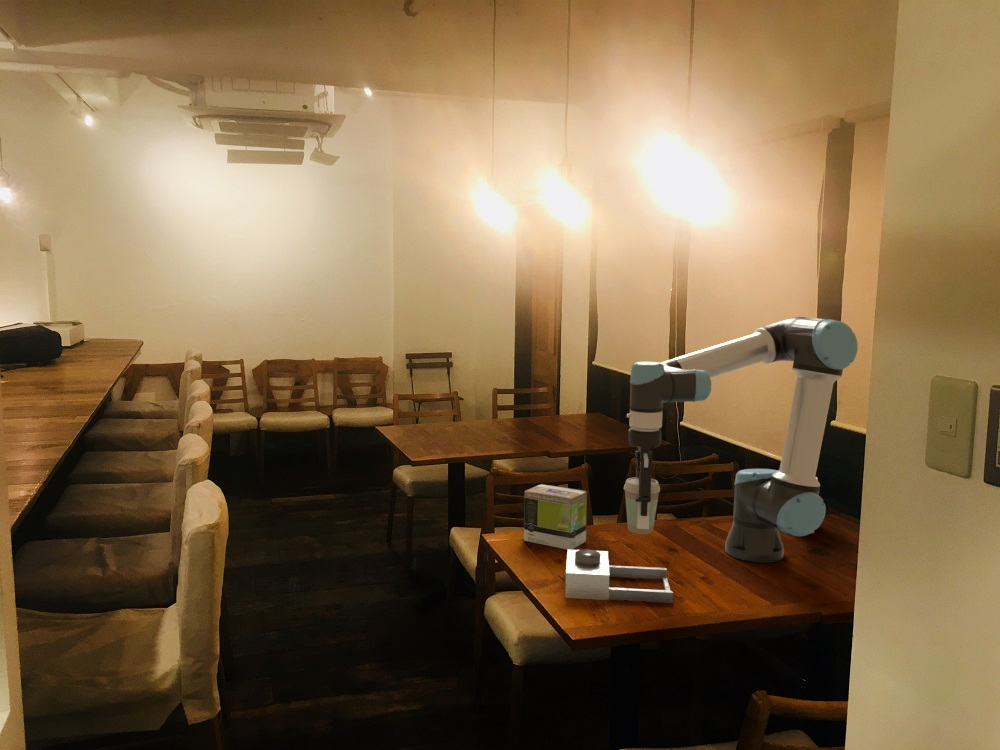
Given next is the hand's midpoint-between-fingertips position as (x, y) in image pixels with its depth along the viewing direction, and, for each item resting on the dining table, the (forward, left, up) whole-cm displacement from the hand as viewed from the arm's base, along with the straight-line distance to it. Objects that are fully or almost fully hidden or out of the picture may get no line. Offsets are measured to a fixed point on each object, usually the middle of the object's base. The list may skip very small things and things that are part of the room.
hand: (641, 522), depth 191 cm
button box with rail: (+5, 0, -16) cm, 17 cm away
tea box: (+21, -31, -17) cm, 41 cm away
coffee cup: (0, 0, -2) cm, 2 cm away
